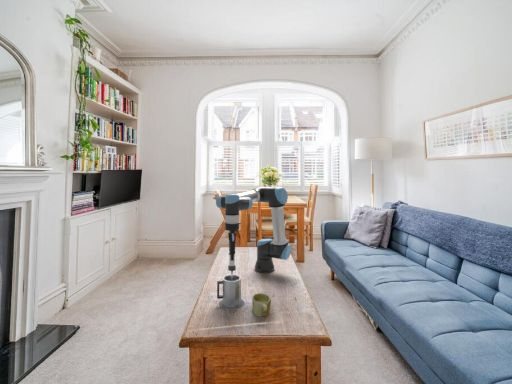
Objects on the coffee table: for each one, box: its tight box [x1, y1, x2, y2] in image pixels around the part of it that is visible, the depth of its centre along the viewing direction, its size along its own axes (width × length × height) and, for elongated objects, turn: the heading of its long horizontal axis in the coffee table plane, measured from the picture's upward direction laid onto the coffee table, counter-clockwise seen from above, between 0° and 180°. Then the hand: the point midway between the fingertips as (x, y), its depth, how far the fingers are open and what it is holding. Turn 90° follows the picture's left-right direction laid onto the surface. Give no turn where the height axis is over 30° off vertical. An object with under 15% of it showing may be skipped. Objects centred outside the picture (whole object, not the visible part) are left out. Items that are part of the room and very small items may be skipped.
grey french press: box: [216, 274, 242, 308], centre depth 137 cm, size 13×10×14 cm
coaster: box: [218, 298, 245, 311], centre depth 137 cm, size 14×14×1 cm
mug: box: [251, 292, 272, 317], centre depth 127 cm, size 12×10×10 cm
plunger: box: [227, 265, 237, 281], centre depth 137 cm, size 7×7×13 cm
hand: (231, 265), depth 136 cm, fingers closed
